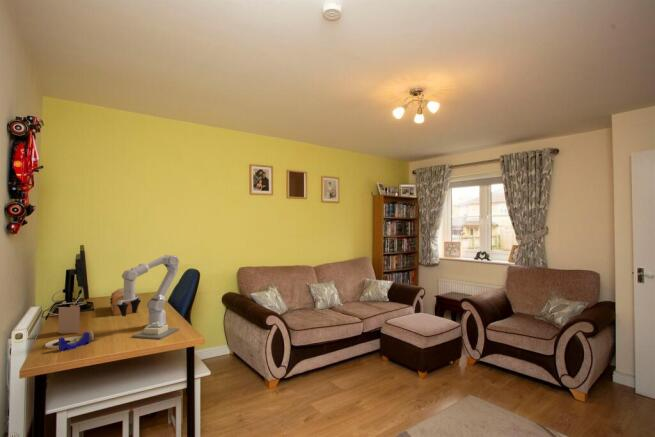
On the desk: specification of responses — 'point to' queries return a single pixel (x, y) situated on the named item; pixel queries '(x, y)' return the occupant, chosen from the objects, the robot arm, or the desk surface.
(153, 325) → the block
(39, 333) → the desk surface
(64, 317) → the greeting card
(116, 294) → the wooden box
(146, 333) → the pocket plate
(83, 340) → the blue cradle holder
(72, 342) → the light piece
